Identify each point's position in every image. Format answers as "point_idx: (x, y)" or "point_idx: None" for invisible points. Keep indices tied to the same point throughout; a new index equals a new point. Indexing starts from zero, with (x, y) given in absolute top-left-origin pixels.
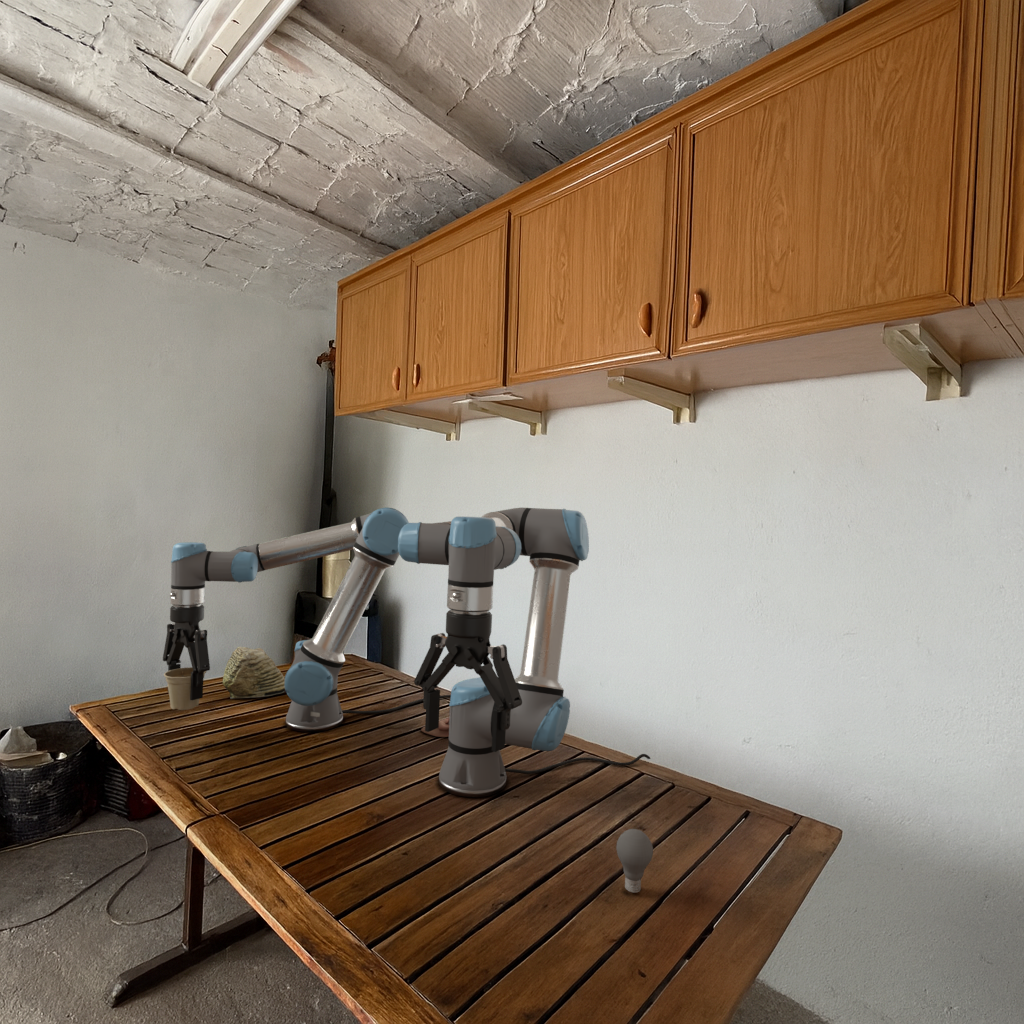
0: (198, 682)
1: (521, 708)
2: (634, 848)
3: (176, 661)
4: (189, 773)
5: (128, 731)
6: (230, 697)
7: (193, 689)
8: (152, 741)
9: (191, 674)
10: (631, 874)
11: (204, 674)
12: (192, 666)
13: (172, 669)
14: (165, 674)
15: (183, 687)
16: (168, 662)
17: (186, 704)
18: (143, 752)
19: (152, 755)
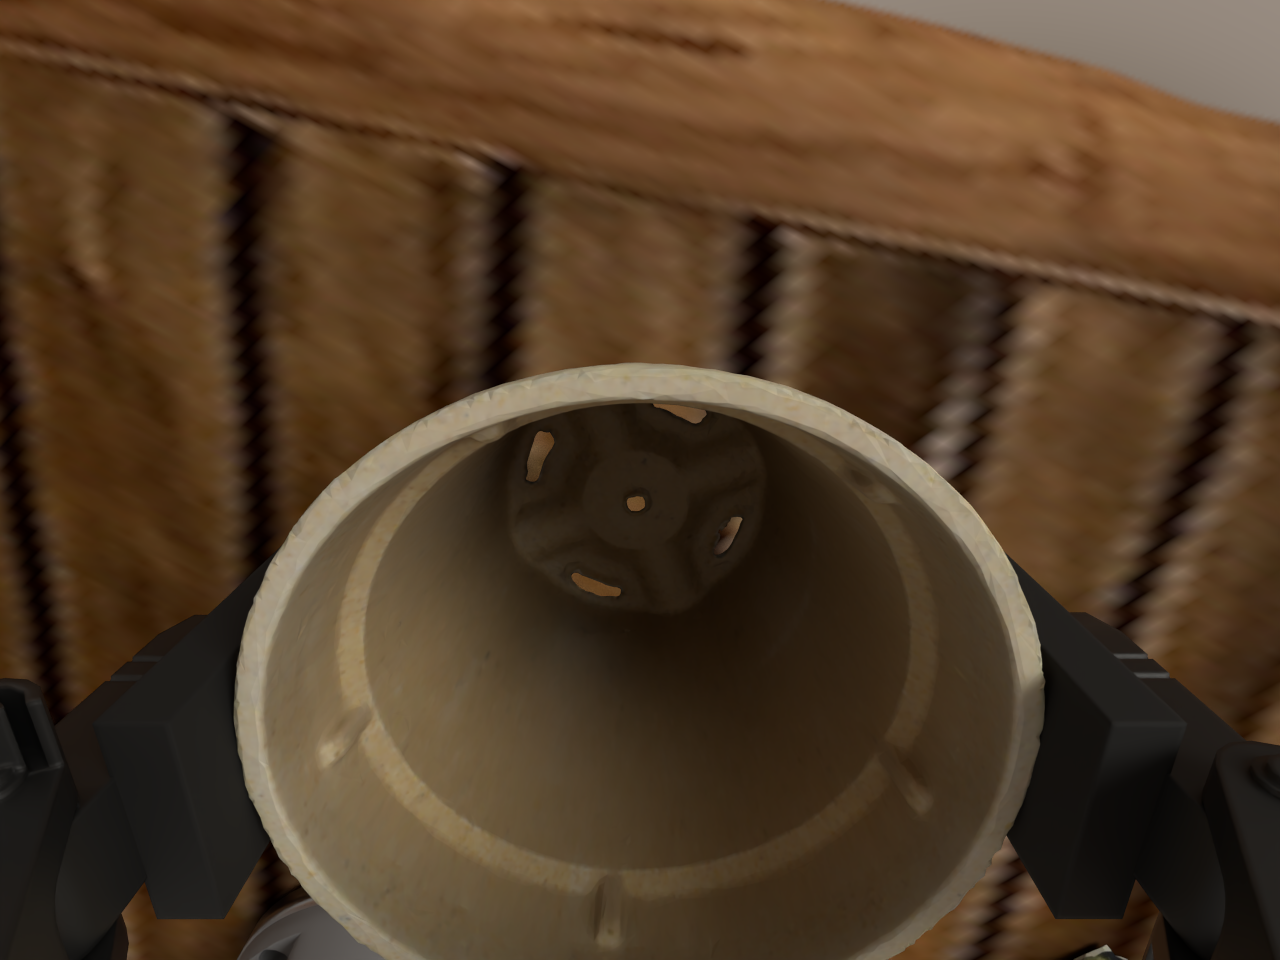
0: (138, 668)
1: None
2: None
3: (1180, 938)
4: (123, 149)
5: (1200, 280)
6: (1109, 951)
7: None
8: (868, 291)
9: (155, 705)
10: None
11: (452, 910)
12: (2, 883)
13: (1048, 717)
14: (850, 453)
15: (423, 504)
16: (1275, 797)
17: (493, 463)
18: (724, 136)
19: (619, 150)
